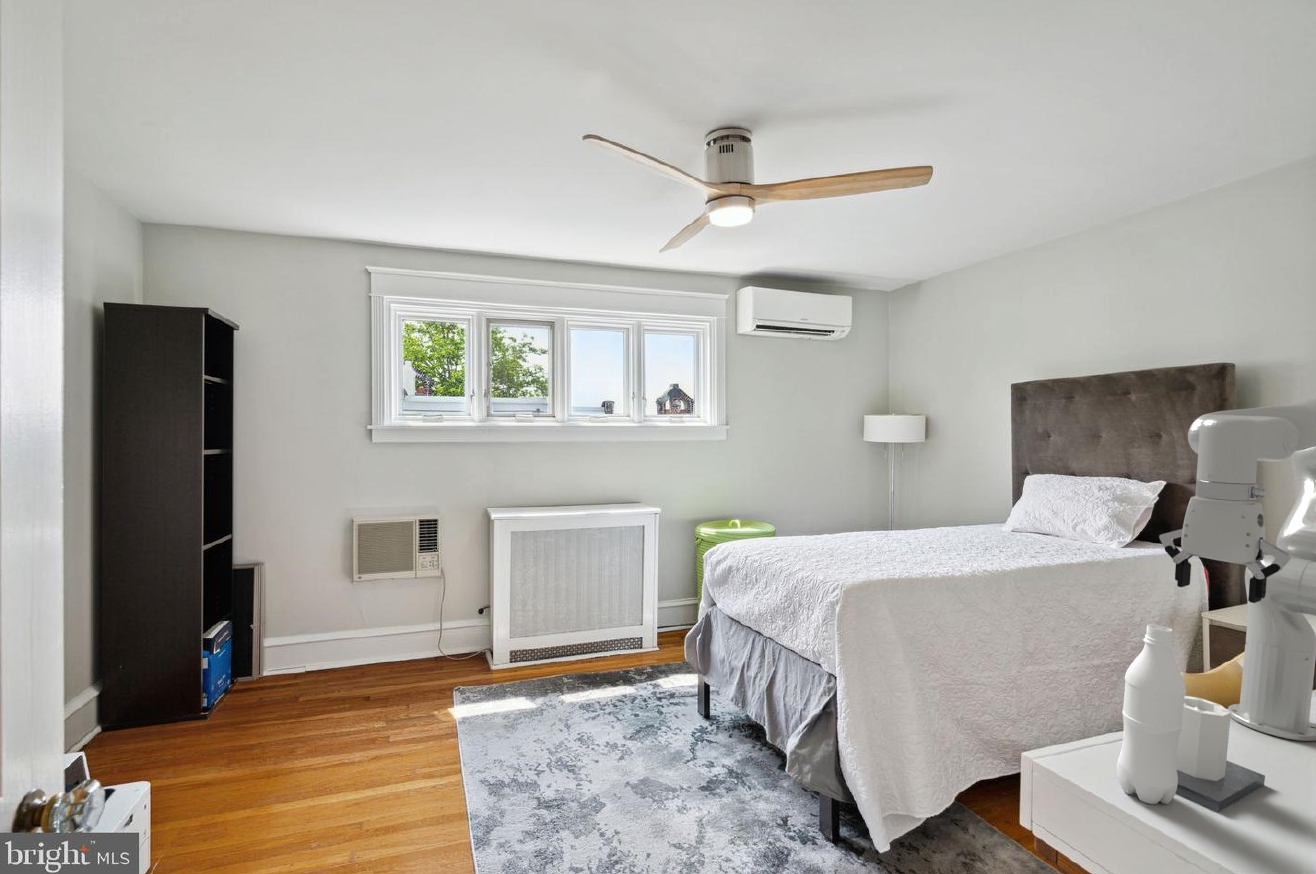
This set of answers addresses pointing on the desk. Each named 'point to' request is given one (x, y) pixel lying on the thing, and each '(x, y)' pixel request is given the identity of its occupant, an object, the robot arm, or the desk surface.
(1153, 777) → the water bottle
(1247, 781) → the roll holder
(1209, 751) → the white hollow octagonal tube
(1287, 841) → the desk surface
